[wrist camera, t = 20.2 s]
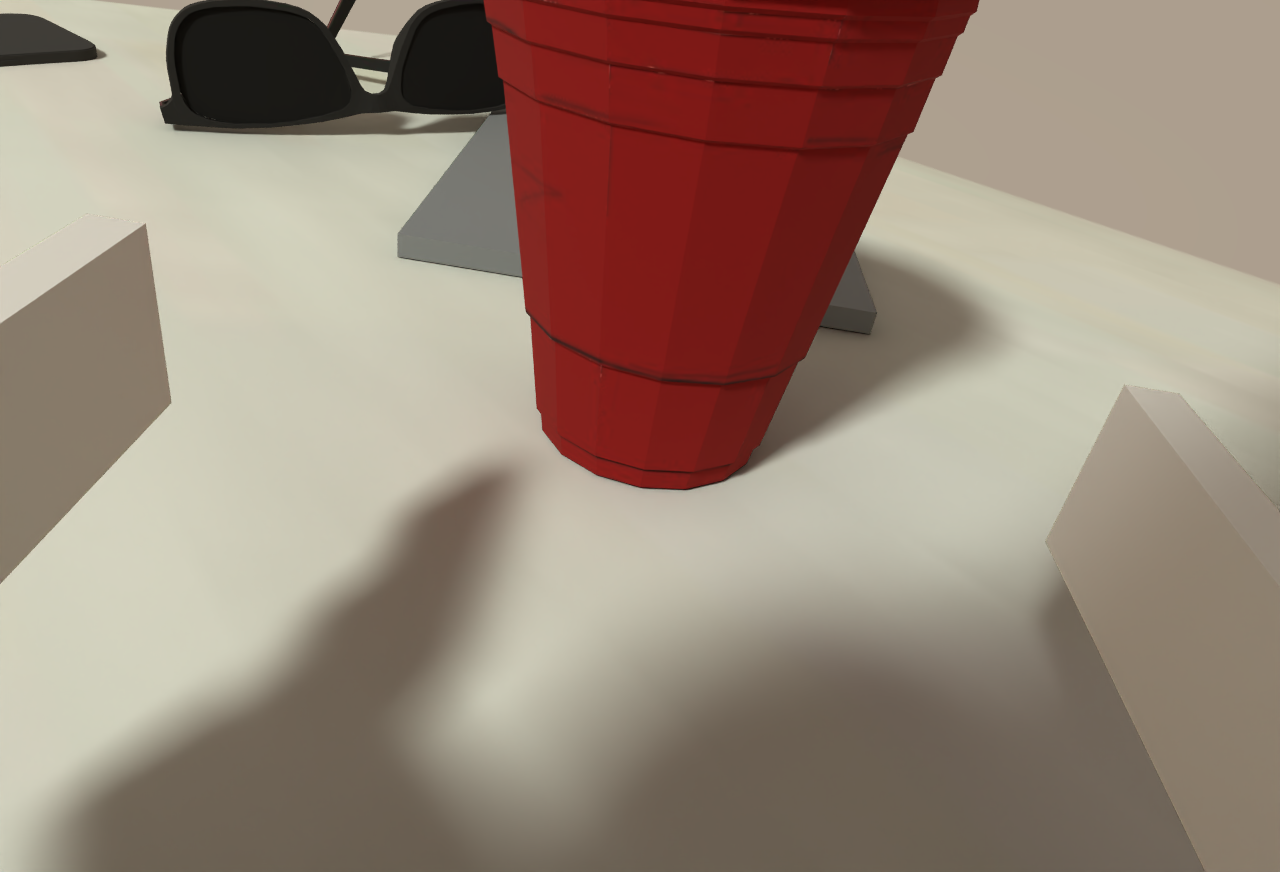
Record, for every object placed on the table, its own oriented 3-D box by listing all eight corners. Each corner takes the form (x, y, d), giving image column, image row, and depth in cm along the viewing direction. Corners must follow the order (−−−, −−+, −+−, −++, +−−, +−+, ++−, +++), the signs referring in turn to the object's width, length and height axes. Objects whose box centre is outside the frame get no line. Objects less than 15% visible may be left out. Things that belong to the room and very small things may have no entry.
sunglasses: (449, 52, 55) (446, -43, 52) (555, 115, 44) (559, 0, 42) (129, 61, 47) (106, -51, 44) (169, 139, 37) (142, 0, 34)
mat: (811, 161, 48) (815, 145, 48) (870, 334, 31) (876, 312, 31) (505, 108, 48) (506, 92, 47) (397, 256, 31) (397, 233, 30)
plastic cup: (565, 294, 30) (614, -130, 24) (885, 408, 27) (1041, -47, 21) (334, 440, 22) (312, -158, 15) (759, 632, 19) (958, -23, 12)
